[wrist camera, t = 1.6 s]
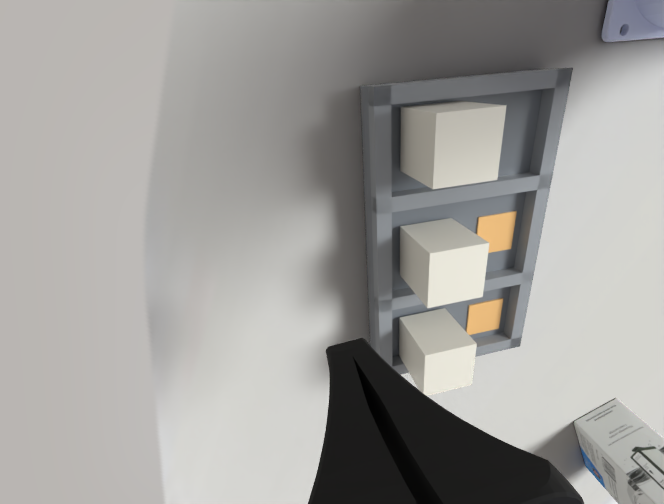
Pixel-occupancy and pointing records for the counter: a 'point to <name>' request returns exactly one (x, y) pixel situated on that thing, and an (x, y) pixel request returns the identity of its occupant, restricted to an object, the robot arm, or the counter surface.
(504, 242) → the grey divided tray
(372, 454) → the robot arm
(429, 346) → the off-white rectangular block
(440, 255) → the cream rectangular block
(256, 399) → the counter surface
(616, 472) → the ink box
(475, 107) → the off-white rectangular block
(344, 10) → the counter surface
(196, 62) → the counter surface
